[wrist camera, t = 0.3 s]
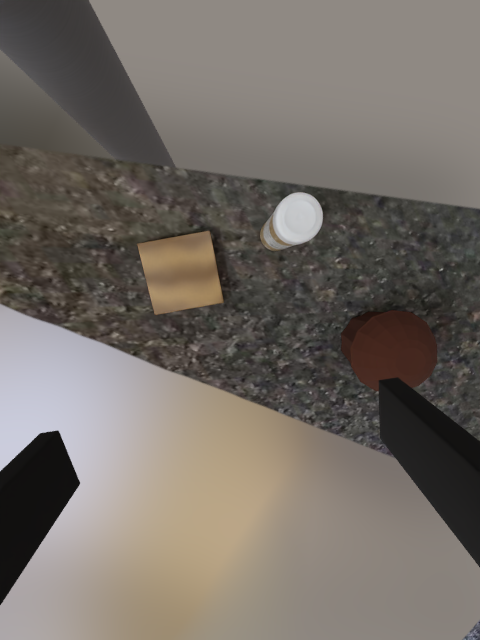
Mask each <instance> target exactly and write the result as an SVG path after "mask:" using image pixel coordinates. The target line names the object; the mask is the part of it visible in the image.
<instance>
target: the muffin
mask: <svg viewBox="0 0 480 640" xmlns="http://www.w3.org/2000/svg"><path fill="white" fill-rule="evenodd" d="M341 338H342V346H341V351H342V352H343V354H344V355H345V356H346V358H347V359H348V360H349V362H350V363H351V367H352V369H353V370H354V372H355V373H356V375H357V377H358V378H359V380H360V382H362V383H363V384H365V385H367V386H368V387H370V388H372V389H373V390H375V391H379V380H383V379H390V378H396V377H398V378H399V379H401V380H402V381H403V382H405V383H406V384H407V385H408V386H410V387H411V388H413V387H417V386H419V385H420V384H421V383H423V382H424V381H425V380H426V379H427V378H428V377H430V376H431V374H432V372H433V370H434V368H435V366H436V363H437V344H436V341H435V337H434V335H433V333H432V332H431V330H430V328H429V326H428V324H427V322H425V321H424V320H422V319H421V318H419V317H418V316H416V315H415V314H413V313H412V312H404V311H395V310H391V311H388V312H367V313H365V314H363V315H361V316H358V317H355V318H352V319H351V320H350V322H349V324H348V325H347V327H346V328H345V329H344V331H343V332H342V333H341Z"/></svg>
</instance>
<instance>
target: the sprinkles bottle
mask: <svg viewBox="0 0 480 640" xmlns="http://www.w3.org/2000/svg"><path fill="white" fill-rule="evenodd" d="M322 221H323V212H322V208H321V206H320V204H319V202H318V201H317V200H316V199H315V198H314V197H313V196H311V195H309V194H307V193H302V192H298V193H293V194H290V195H288V196H287V197H285V198H284V199H283V200H282V201H281V202H280V203H279V205H278V206H277V207H276V209H275V211H274V213H273V214H272V216H271V217H270V218H269V219H268V221H267V222H266V223H265V224H264V225H263V227H262V229H261V232H260V238H261V241H262V243H263V245H264V246H265V247H266V248H267V249H269V250H272V251H280V250H282V249H285V248H288V247H291V246H294V245H298V244H302V243H304V242H307V241H309V240H310V239H312V238H313V237H314V236H315V235H316V234H317V233H318V232H319V230H320V228H321V225H322Z"/></svg>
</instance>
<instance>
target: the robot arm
mask: <svg viewBox="0 0 480 640" xmlns="http://www.w3.org/2000/svg"><path fill="white" fill-rule="evenodd" d="M379 415H380V438H381V440H382V441H383V442H384V444H385V445H386V446H387V448H388V449H389V450H390V451H391V453H392V454H393V455H394V457H395V458H396V459H397V460H398V462H399V463H400V464H401V466H402V467H403V468H404V470H405V471H406V472H407V473H408V475H409V476H410V477H411V479H412V480H413V481H414V483H415V484H416V485H417V486H418V488H419V489H420V490H421V492H422V493H423V494H424V495H425V497H426V498H427V499H428V501H429V502H430V503H431V504H432V506H433V507H434V508H435V510H436V511H437V512H438V514H439V515H440V516H441V518H442V519H443V520H444V521H445V523H446V524H447V525H448V527H449V528H450V529H451V530H452V532H453V533H454V534H455V535H456V537H457V538H458V539H459V541H460V542H461V543H462V545H463V546H464V547H465V549H466V550H467V551H468V553H469V554H470V555H471V556H472V558H473V559H474V560H475V562H476V563H477V564H478V565H479V567H480V441H478V440H477V439H476V438H475V437H473V436H472V435H471V434H470V433H468V432H467V431H466V430H464V429H463V428H462V427H461V426H459V425H458V424H457V423H456V422H454V421H453V420H452V419H450V418H449V417H448V416H447V415H445V414H444V413H443V412H441V411H440V410H439V409H438V408H436V407H435V406H434V405H433V404H431V403H430V402H429V401H427V400H426V399H425V398H424V397H422V396H421V395H420V394H419V393H417V392H416V391H415V390H413V389H412V388H411V387H410V386H408V385H407V384H406V383H405V382H403V381H402V380H401V379H399V378H398V377H396V378H390V379H383V380H379ZM79 484H80V482H79V480H78V477H77V475H76V472H75V470H74V467H73V465H72V462H71V460H70V457H69V455H68V453H67V450H66V448H65V445H64V443H63V440H62V438H61V435H60V433H59V431H52V432H46V433H40V434H39V435H38V436H37V437H36V438H35V439H34V440H33V441H32V442H31V443H30V444H29V445H28V446H27V447H25V448H24V449H23V450H22V451H21V452H20V453H19V454H18V455H17V456H16V457H15V458H14V459H13V460H12V461H11V462H10V463H9V464H8V465H7V466H6V467H4V468H3V470H1V471H0V605H1V603H2V602H3V600H4V599H5V597H6V596H7V594H8V593H9V591H10V590H11V588H12V587H13V585H14V584H15V582H16V580H17V579H18V577H19V576H20V574H21V573H22V571H23V570H24V568H25V567H26V565H27V564H28V562H29V561H30V559H31V558H32V556H33V555H34V553H35V552H36V550H37V549H38V547H39V545H40V544H41V542H42V541H43V539H44V538H45V536H46V535H47V533H48V532H49V530H50V529H51V527H52V526H53V524H54V523H55V521H56V519H57V518H58V517H59V515H60V514H61V512H62V510H63V509H64V507H65V506H66V504H67V503H68V501H69V499H70V498H71V497H72V495H73V494H74V492H75V491H76V489H77V488H78V486H79Z"/></svg>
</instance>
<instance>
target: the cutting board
mask: <svg viewBox="0 0 480 640" xmlns="http://www.w3.org/2000/svg"><path fill="white" fill-rule="evenodd" d="M137 245H138V249H139V253H140V257H141V261H142V265H143V269H144V273H145V277H146V281H147V285H148V289H149V293H150V297H151V301H152V305H153V309H154V313H155V315H158V314H163V313H169V312H174V311H180V310H185V309H191V308H196V307H202V306H207V305H213V304H218V303H223V302H224V300H223V295H222V289H221V284H220V279H219V274H218V269H217V263H216V258H215V253H214V248H213V243H212V237H211V232H210V231H205V232H199V233H193V234H188V235H182V236H177V237H171V238H166V239H160V240H155V241H149V242H144V243H138V244H137Z"/></svg>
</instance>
